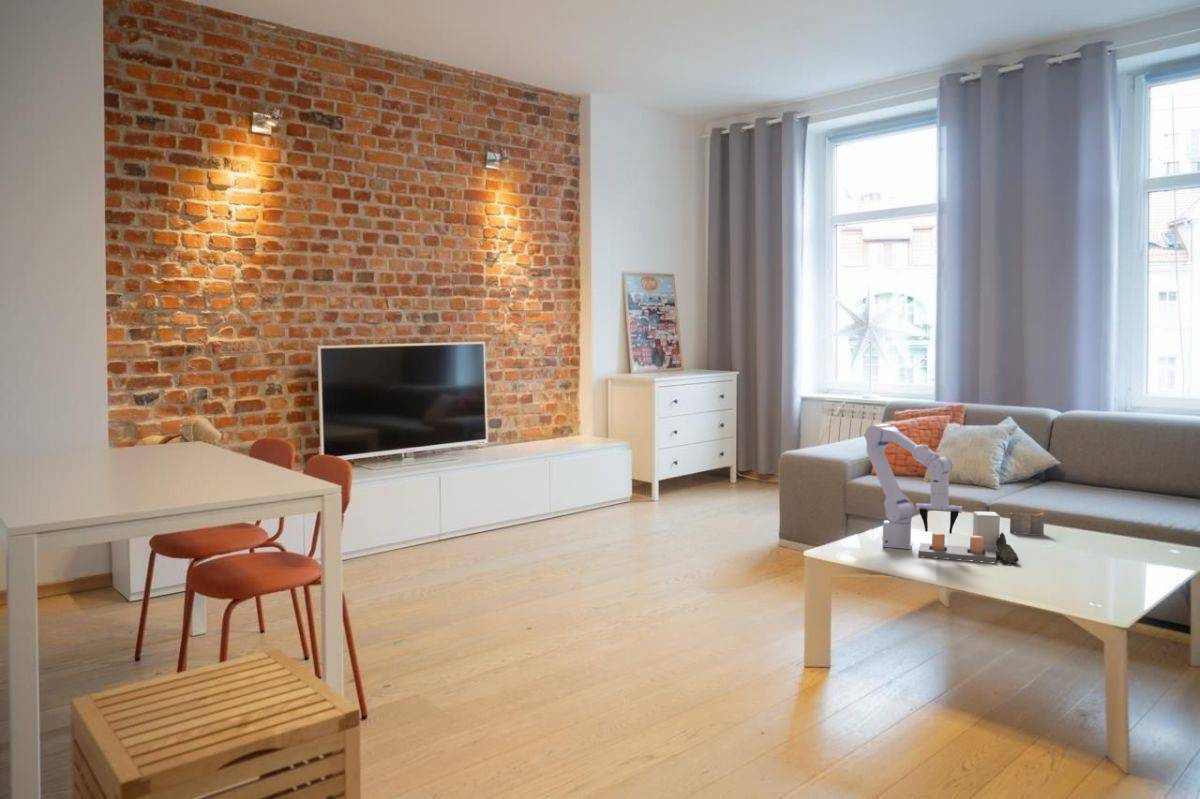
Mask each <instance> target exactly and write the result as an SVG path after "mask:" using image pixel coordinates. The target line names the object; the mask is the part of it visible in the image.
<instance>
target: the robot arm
mask: <svg viewBox="0 0 1200 799" xmlns="http://www.w3.org/2000/svg"><path fill="white" fill-rule="evenodd" d="M863 437H864V439H865V440H866V441H865V442H866V453H867V455H868V458H869V461H870V462H871V465H872V468H873V470H874V471H875V474H876V475H875V476H876V477H877V479H878V481H879V484H880V486H881V489H882V491H883V492H884V495H885V500H884V503H883V505H884V508H885V516H886V518H887V520H883V526H882V537H881V538H882V547H883V548H893V549H905V550H911V549H912V546H913V543H912V541H911V539H912V536H911V534H912V518H913V517H915V515H916V511H919V514H920V517H921V519H922V523H923V526H924V531H925V532H926V533H927V532H928V530H929V529H928V528H929V526H928V516H929V514H928V513H929V512H928V511H936V512H949V513H950V516H949V518H950V520H949V531H948V534H953V528H954V524H955V523H956V520H957V519H958V516H959V514H963V506H962V505H960V506H959V505H953V504H949V493H950V492H949V488H950V485H949V484H950V472H951V471H952V470H953V467H954V465H953V462H952V460H951V459H950V458H949V457H948V456H945V455H944V456H943V455H942V456H941V454H940V453H938V452H935V451H933V450H932V449H931V448H929V447H930V446H929V445H928V444H923V443H922V444H917V443H916V442H914V441H913V440H912V439H910V438H909V437H908V436H906V435H905V434H904V433H902V432H901V431H900V430H899V428H898V427H896V426H893V424H891V423H887V422H886V423H883V424H872V425H869V426H868V427H867V428H866V430H865V432H864V435H863ZM890 443H895V445H898V446H899V447H902V448H903V449H904V450H907V451H908V452H909V453H911V456H912V458H913V459H914V460H915V461H917V462H918V463H920V464H921V465H923V466H924V467H926V468H927V470H928V472H929V474H930V492H929V493H930V496H929V497H930V499H929V500H930V502H929V503H921V502H919V503H916V505H914V504H913V503H912V502H911V501H910V499H909V497H908V496H907V495H906V494H905V493H903V492H902V491H901V489H900V488H901V487H899V484H898V481H897V479H896V476H895V475H894V474H895V473H894V472H893V470H892V468H891V465H890V463H889V460H888V459H887V457H886V454H885V450H886V448H887V446H888V445H889V444H890ZM915 506H916V507H915Z"/></svg>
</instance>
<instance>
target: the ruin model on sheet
mask: <svg viewBox="0 0 1200 799" xmlns="http://www.w3.org/2000/svg"><path fill="white" fill-rule="evenodd" d="M1009 517H1010V522H1009V533H1010V532H1016V533H1015V534H1019V533H1027V534H1026V535H1030V534H1036V535H1035V536H1042V535H1044V534H1045V533H1044V531H1045V515H1044V509H1037V510H1036V514H1033V513H1023V512H1022V513H1021V512H1017V513H1012V512H1010V516H1009ZM1044 536H1045V535H1044Z"/></svg>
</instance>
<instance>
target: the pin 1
mask: <svg viewBox="0 0 1200 799" xmlns="http://www.w3.org/2000/svg"><path fill="white" fill-rule="evenodd" d="M945 538H946V534H945V533H942V532H932V533H931V544H932V550H939V551H944V546H945V545H946V544H945V543H946V542H945Z"/></svg>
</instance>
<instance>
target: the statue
mask: <svg viewBox="0 0 1200 799" xmlns="http://www.w3.org/2000/svg"><path fill="white" fill-rule="evenodd" d="M996 545H997V549H998V554H999V559H1001V560H1003V561H1004V563H1005V564H1010V565H1012V562H1013V563H1018V562H1019V559H1020V558H1019V556H1018V554H1017V553H1016V552H1015V550H1014V549H1013V548H1012V546H1011V545H1010V544H1007V539H1006V536H1005V534H1004V532H1000V533H999V538H998V539H997V541H996Z"/></svg>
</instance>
